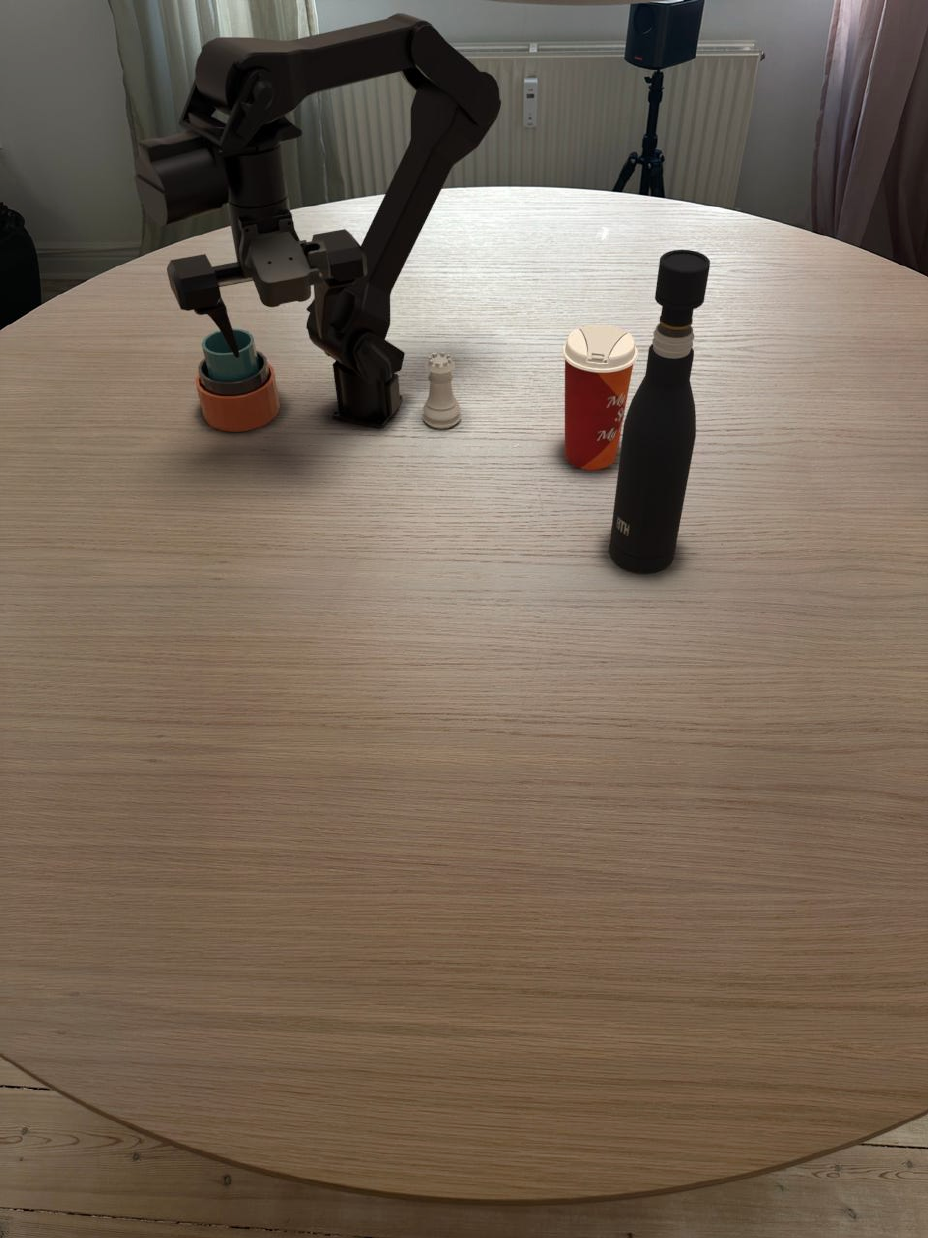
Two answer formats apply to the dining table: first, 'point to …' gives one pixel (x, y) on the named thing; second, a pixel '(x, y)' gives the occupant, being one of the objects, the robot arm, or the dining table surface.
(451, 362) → the rook chess piece
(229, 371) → the teal cup
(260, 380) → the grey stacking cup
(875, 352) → the dining table surface
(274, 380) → the stack base cup
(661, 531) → the black insulated water bottle
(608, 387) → the paper cup
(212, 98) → the robot arm
